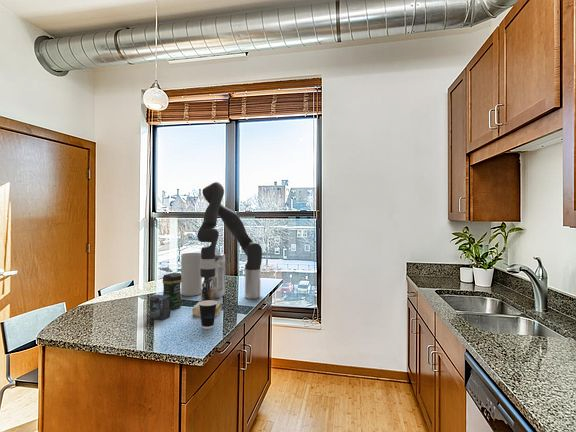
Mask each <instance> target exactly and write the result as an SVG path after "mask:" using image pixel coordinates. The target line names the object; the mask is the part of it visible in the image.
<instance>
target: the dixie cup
mask: <svg viewBox="0 0 576 432" xmlns="http://www.w3.org/2000/svg"><path fill="white" fill-rule="evenodd" d="M198 302H199V301H198ZM216 304H217V302H216V300H214V301H213V300H206V301H202V300H201V302H199V305H200V315H201V316H200V323H201V327H202V329H204V330H206V329H207V330H208V329H209V330H210V329H212V328H214V325H215V317H216V316H215V310H216Z"/></svg>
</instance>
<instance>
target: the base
mask: <svg viewBox="0 0 576 432" xmlns="http://www.w3.org/2000/svg"><path fill="white" fill-rule="evenodd" d="M201 301H202V300H201ZM201 301H200V300H199V301H198V302H197V303H195V305H194V306H193V308H192V317H201V315H200V305H199V302H201ZM215 301H216V300H215ZM216 302H217V304H216V310H215V317H218V315H220V312H221V311H222V305H223V304H222V303H223V301H218V300H217V301H216Z"/></svg>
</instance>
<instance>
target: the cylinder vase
mask: <svg viewBox="0 0 576 432" xmlns="http://www.w3.org/2000/svg"><path fill="white" fill-rule="evenodd" d="M180 261H181V265H180V272H181V273H180V274H181V279H182V280H181V284H180V292H181V296H186V297H194V296H199V295H202V283H203V277H201V276H200V263H201V252H185V253H181V260H180Z"/></svg>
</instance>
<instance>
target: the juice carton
mask: <svg viewBox="0 0 576 432" xmlns="http://www.w3.org/2000/svg"><path fill="white" fill-rule="evenodd" d="M212 278H213V287H214V299H221V298H222V297H223V296H224V295H225V293H226V254H225V253H217V252H216V251H215V276H214V277H212Z"/></svg>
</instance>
